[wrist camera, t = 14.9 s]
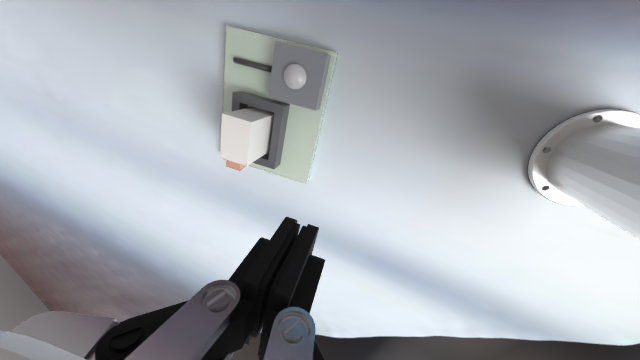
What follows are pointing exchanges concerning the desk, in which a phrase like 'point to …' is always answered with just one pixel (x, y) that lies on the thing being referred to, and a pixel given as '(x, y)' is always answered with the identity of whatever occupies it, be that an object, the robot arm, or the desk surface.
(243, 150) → the plug
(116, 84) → the desk surface
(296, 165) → the board
